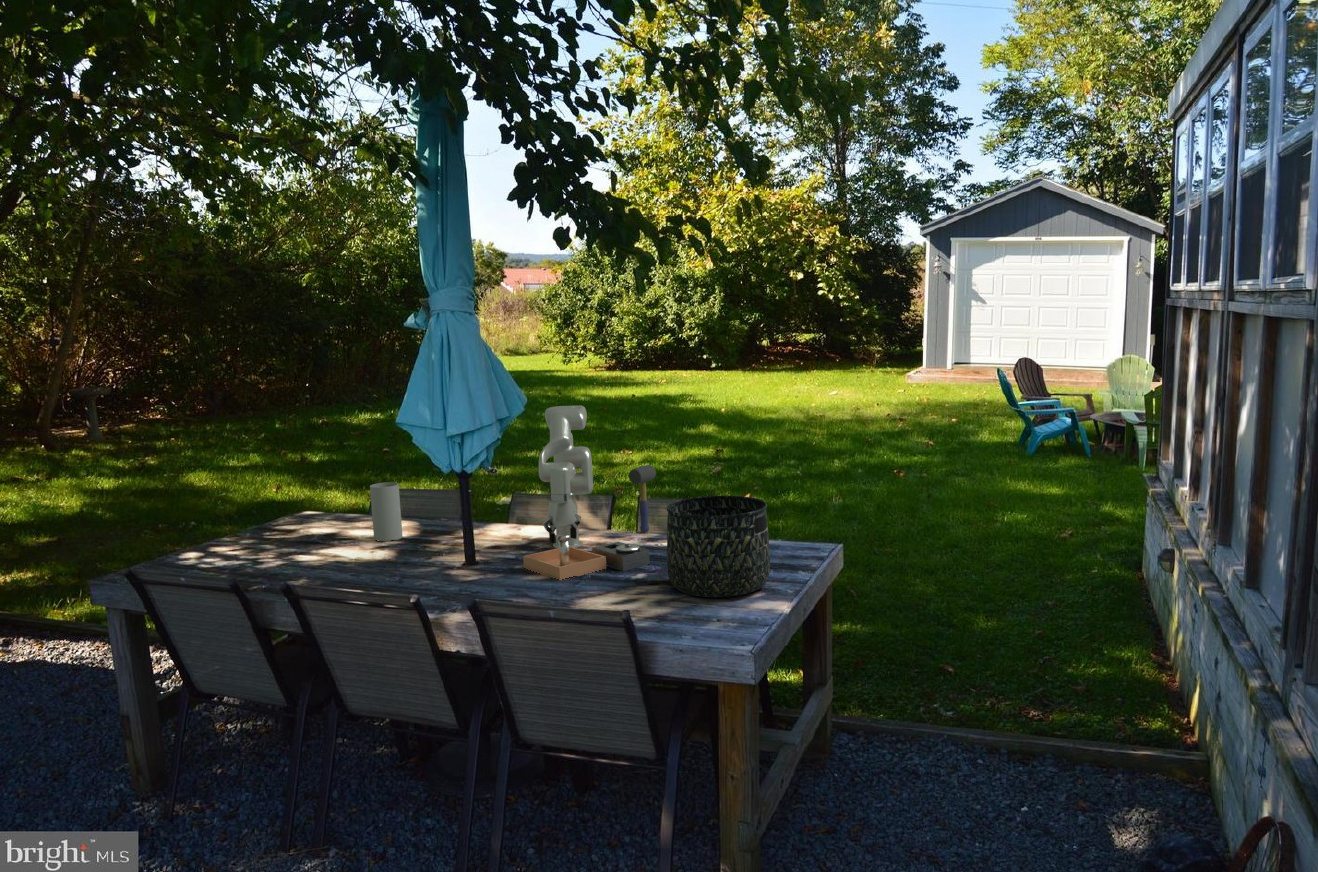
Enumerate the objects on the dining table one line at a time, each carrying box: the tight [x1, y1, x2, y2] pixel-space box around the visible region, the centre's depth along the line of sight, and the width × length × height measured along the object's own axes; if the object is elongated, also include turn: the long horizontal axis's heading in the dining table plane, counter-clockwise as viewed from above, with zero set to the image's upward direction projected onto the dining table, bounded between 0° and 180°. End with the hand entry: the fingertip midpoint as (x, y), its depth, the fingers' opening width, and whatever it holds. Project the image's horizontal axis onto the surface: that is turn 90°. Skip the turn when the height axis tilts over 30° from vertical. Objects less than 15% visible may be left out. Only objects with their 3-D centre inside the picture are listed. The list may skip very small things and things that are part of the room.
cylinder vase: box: [369, 481, 403, 542], centre depth 462 cm, size 12×12×25 cm
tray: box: [522, 546, 607, 581], centre depth 400 cm, size 26×22×5 cm
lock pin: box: [555, 533, 570, 567], centre depth 399 cm, size 5×5×12 cm
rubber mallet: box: [628, 464, 657, 534], centre depth 455 cm, size 12×8×30 cm, turn 146°
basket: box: [665, 495, 771, 598], centre depth 365 cm, size 37×37×30 cm
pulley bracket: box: [591, 541, 650, 572], centre depth 404 cm, size 20×13×8 cm, turn 39°
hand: (563, 540), depth 399 cm, fingers open, 9 cm apart
